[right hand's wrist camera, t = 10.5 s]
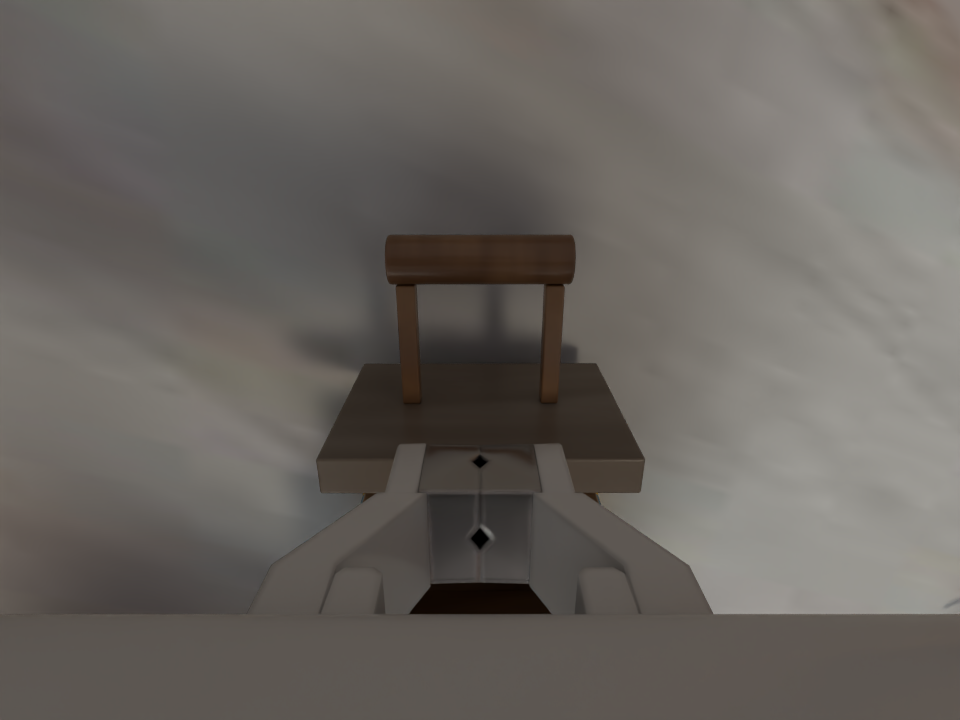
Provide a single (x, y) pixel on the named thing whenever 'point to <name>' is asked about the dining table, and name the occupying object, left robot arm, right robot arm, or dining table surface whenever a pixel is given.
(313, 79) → the dining table surface
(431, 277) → the drawer
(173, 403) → the dining table surface
